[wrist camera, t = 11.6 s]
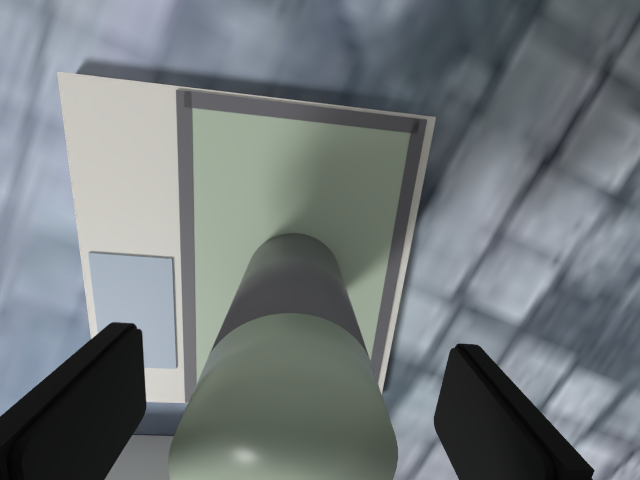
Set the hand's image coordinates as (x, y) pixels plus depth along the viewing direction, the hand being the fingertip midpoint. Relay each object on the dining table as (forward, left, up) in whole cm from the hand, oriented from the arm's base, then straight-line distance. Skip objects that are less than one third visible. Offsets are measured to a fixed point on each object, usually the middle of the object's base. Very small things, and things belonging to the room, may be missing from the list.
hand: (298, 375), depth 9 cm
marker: (0, -1, -6) cm, 6 cm away
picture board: (+2, -1, -7) cm, 7 cm away
